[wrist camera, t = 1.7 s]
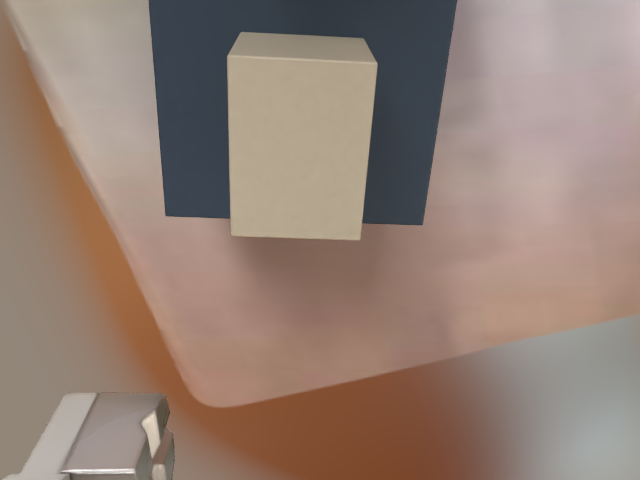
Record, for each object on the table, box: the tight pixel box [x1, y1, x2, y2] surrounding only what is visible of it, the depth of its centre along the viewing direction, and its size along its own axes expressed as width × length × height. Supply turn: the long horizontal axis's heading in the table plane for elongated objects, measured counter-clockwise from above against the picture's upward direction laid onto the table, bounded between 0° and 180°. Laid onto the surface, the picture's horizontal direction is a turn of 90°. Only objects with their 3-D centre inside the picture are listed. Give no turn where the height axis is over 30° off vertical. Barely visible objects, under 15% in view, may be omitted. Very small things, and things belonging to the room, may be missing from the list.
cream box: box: [227, 32, 378, 241], centre depth 22 cm, size 6×5×5 cm
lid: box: [149, 0, 457, 225], centre depth 21 cm, size 15×12×5 cm
